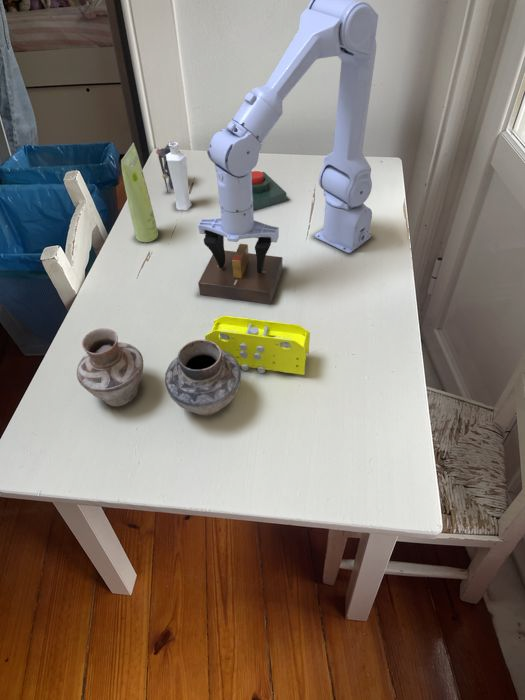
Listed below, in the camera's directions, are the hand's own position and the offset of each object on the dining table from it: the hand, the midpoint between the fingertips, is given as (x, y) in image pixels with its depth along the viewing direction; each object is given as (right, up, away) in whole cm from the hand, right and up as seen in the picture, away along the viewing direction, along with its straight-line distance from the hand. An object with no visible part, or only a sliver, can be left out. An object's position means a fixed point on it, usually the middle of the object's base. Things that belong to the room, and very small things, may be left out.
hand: (241, 267), depth 93 cm
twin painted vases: (-11, -24, -16) cm, 31 cm away
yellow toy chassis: (+4, -18, -12) cm, 22 cm away
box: (+3, +22, +25) cm, 34 cm away
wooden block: (0, 0, 0) cm, 0 cm away
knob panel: (0, -2, +3) cm, 3 cm away
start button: (+3, +24, +23) cm, 33 cm away
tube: (-22, +9, +14) cm, 27 cm away
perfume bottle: (-15, +19, +23) cm, 33 cm away
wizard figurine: (-18, +25, +29) cm, 42 cm away
